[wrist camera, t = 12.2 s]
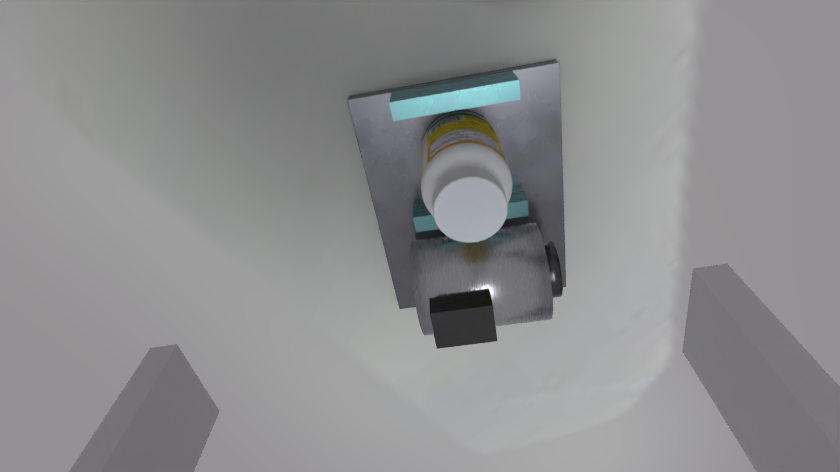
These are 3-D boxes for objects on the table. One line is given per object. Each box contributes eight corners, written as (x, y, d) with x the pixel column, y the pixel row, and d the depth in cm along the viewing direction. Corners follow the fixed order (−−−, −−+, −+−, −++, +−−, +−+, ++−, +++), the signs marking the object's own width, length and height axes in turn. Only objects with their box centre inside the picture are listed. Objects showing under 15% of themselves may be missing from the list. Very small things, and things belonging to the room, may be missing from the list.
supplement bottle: (440, 96, 32) (445, 147, 24) (511, 127, 33) (540, 185, 25) (409, 166, 35) (405, 233, 26) (477, 193, 36) (492, 265, 27)
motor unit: (349, 96, 33) (324, 143, 25) (555, 59, 32) (601, 97, 24) (400, 301, 42) (394, 386, 34) (563, 279, 41) (597, 361, 33)
